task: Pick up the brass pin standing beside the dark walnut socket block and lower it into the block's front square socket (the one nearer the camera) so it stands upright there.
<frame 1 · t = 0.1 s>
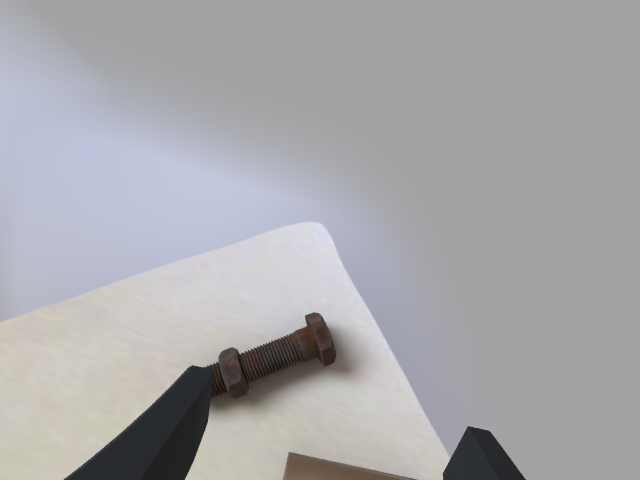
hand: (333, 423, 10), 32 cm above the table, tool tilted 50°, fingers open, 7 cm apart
bolt: (262, 362, 42), on the table
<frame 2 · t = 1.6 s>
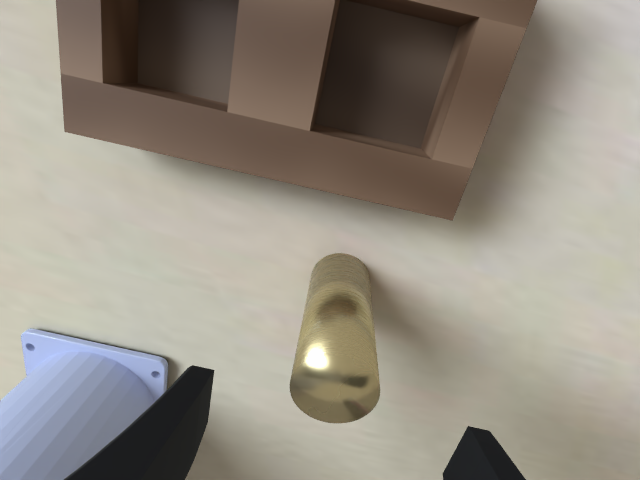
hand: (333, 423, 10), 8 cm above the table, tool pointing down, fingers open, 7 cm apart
brass pin: (340, 279, 18), on the table
socket block: (292, 57, 14), on the table
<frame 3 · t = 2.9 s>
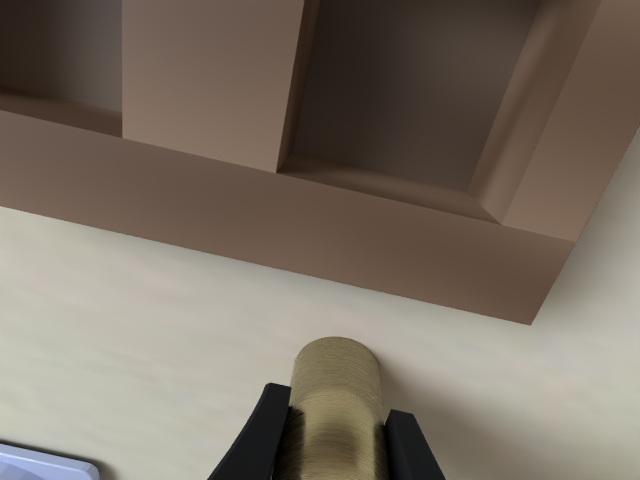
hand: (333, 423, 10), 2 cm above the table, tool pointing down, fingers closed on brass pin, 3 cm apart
brass pin: (335, 371, 12), on the table, touching gripper
socket block: (254, 42, 9), on the table
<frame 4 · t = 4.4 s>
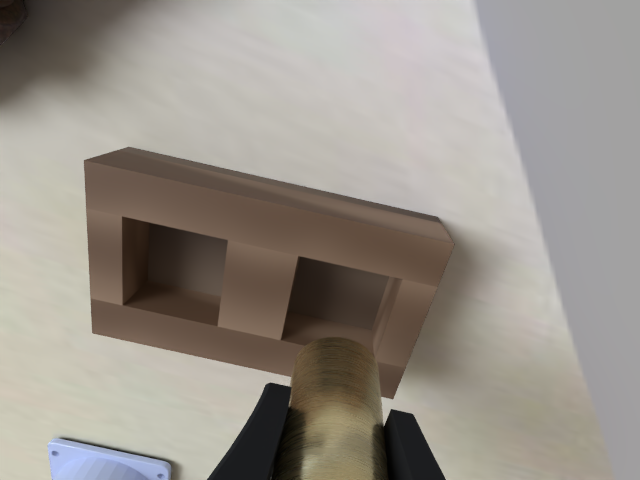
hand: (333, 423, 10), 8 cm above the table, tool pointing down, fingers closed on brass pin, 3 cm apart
brass pin: (335, 371, 12), point 6 cm above the table, touching gripper
socket block: (270, 260, 18), on the table
when the fingers open (4 cm above the table, at t = 5.8 s): brass pin stays where it is, resting on socket block.
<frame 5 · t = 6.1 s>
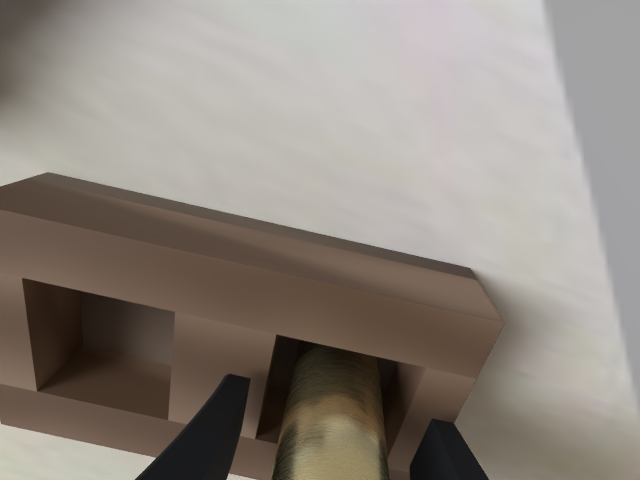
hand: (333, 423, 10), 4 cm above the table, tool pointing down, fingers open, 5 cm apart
brass pin: (336, 356, 13), point 1 cm above the table, touching socket block
socket block: (244, 320, 14), on the table
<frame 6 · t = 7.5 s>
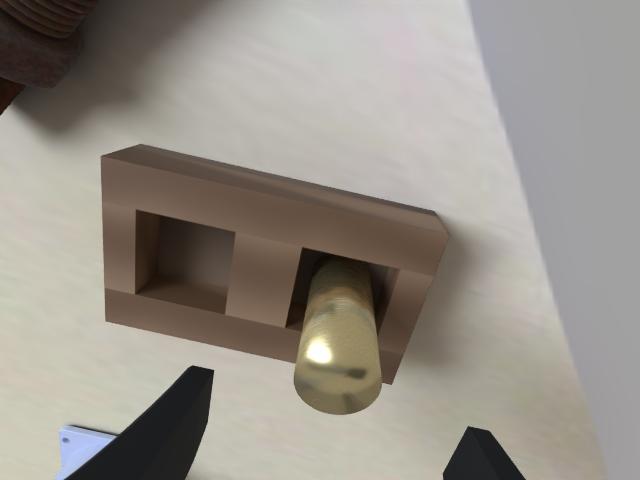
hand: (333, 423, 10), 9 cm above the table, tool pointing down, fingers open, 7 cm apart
brass pin: (341, 276, 18), point 1 cm above the table, touching socket block
socket block: (274, 253, 19), on the table
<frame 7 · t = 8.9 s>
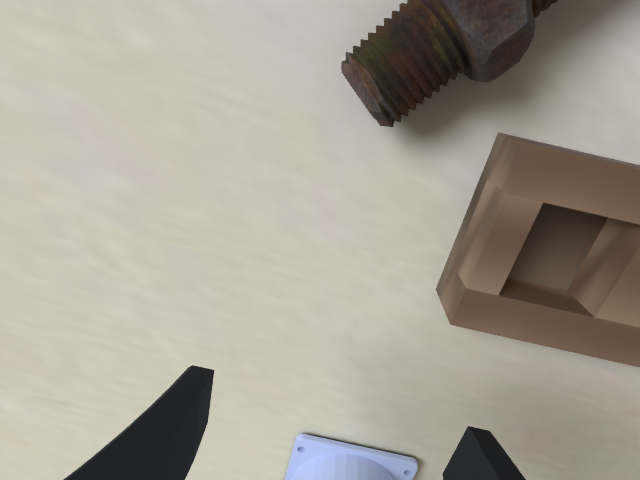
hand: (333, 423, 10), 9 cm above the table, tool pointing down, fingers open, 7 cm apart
socket block: (607, 251, 18), on the table
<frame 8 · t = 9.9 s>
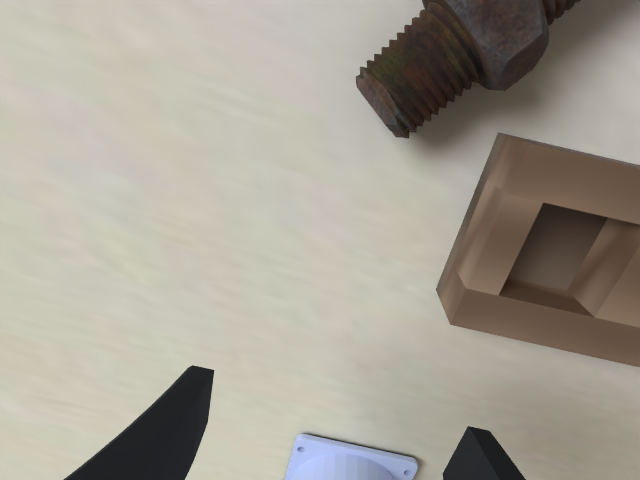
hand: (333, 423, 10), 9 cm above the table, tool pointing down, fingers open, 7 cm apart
socket block: (607, 251, 18), on the table
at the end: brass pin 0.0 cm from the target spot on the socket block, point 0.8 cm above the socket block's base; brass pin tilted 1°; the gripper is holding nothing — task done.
